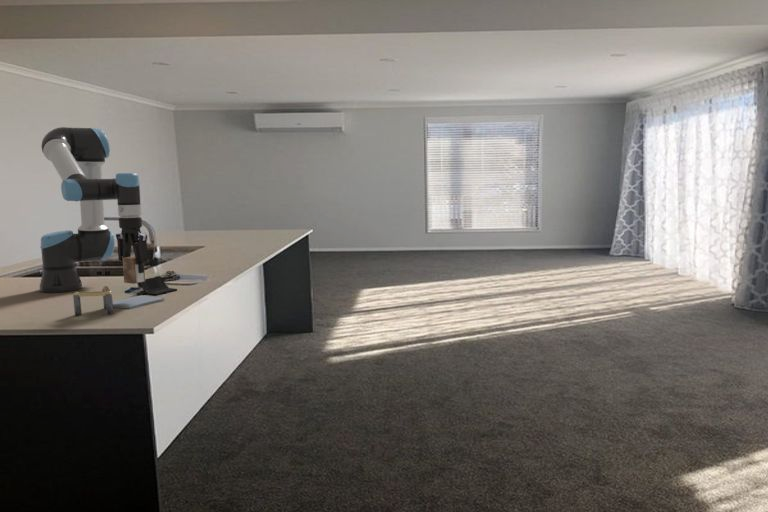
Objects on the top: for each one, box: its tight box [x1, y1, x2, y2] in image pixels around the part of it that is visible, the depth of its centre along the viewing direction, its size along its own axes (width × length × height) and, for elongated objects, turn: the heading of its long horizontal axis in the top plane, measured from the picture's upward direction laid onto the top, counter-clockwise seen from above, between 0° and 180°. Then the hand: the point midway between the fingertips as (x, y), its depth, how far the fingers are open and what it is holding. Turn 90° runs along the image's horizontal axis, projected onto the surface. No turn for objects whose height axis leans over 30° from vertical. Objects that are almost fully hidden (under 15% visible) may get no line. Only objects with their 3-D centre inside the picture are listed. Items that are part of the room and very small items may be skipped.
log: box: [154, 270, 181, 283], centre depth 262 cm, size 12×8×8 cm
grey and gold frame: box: [72, 285, 114, 317], centre depth 200 cm, size 10×13×8 cm
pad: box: [113, 295, 165, 310], centre depth 215 cm, size 12×15×1 cm
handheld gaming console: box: [139, 275, 178, 297], centre depth 234 cm, size 12×7×10 cm
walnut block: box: [122, 255, 146, 285], centre depth 213 cm, size 5×5×9 cm
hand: (134, 281), depth 214 cm, fingers closed on walnut block, 5 cm apart
